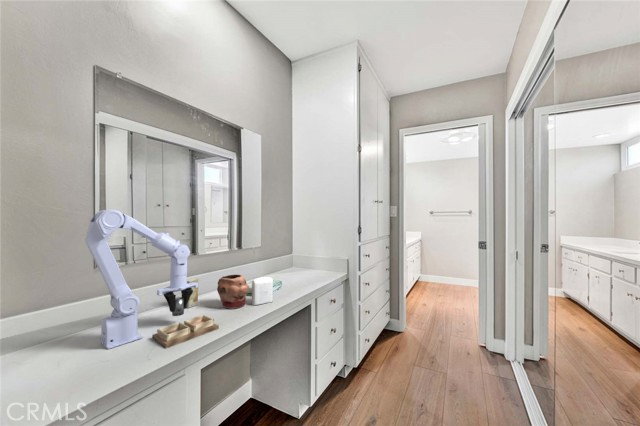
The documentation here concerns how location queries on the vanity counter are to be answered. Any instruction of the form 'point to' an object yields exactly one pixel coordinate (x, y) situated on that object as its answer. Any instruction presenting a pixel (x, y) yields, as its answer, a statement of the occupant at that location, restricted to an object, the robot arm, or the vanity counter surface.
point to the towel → (276, 286)
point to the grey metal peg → (178, 306)
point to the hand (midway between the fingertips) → (178, 309)
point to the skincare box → (193, 294)
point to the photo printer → (262, 290)
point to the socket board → (184, 331)
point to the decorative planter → (232, 291)
